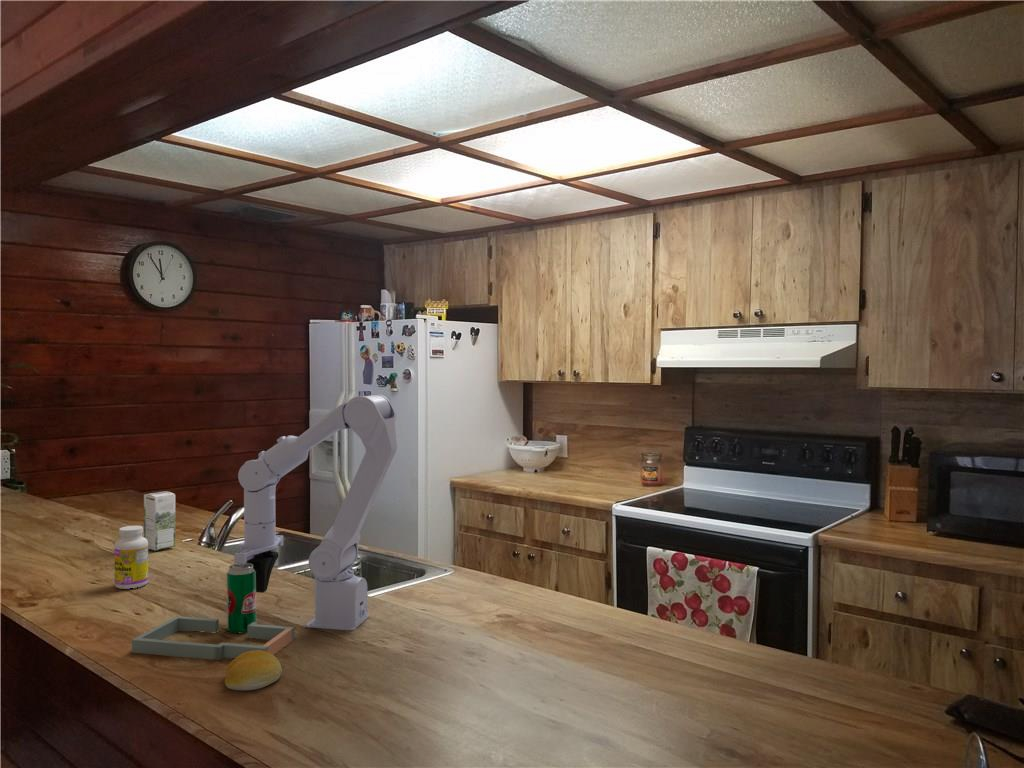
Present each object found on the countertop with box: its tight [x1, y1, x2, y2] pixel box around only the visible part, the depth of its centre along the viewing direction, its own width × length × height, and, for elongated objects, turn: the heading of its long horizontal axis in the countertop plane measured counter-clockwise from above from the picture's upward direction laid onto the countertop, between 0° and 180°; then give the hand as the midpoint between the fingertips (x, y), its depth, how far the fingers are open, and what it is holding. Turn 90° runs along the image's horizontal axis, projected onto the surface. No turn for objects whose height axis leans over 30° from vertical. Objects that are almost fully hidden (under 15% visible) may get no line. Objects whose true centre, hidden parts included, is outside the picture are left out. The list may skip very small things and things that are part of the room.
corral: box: [131, 615, 295, 661], centre depth 129 cm, size 24×12×2 cm, turn 79°
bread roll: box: [224, 650, 283, 692], centre depth 114 cm, size 8×9×4 cm
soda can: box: [226, 563, 257, 634], centre depth 137 cm, size 5×5×12 cm
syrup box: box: [143, 490, 176, 551], centre depth 197 cm, size 6×6×14 cm
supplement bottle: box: [113, 525, 149, 590], centre depth 164 cm, size 7×7×13 cm
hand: (260, 591), depth 143 cm, fingers closed
